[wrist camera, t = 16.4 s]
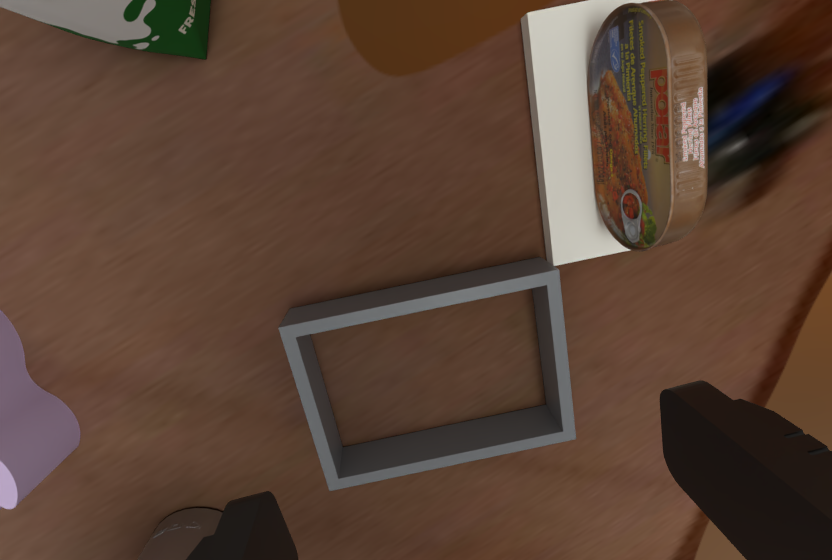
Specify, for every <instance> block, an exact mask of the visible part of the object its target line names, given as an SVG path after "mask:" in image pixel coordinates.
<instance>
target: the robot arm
mask: <svg viewBox="0 0 832 560" xmlns="http://www.w3.org/2000/svg"><path fill="white" fill-rule="evenodd" d="M660 412H661V427H662V442H663V454H664V458H665V461H666V464H667V466H668V468H669V471H670V472H671V474H672V476H673V478H674V479H675V481H676V482H677V483H678V484H679V486H680V487H681V488H682V489H683V490H684V491H685V492H686V493H687V495H688V496H689V497H690V498H691V499H692V500H693V501H694V502H695V503H696V504H697V506H698V507H699V508H700V509H701V510H702V511H703V512H704V513H705V514H706V515H707V517H708V518H709V519H710V520H711V521H712V522H713V523H714V524H715V525H716V526H717V528H718V529H719V530H720V531H721V532H722V533H723V534H724V535H725V536H726V537H727V539H728V540H729V541H730V542H731V543H732V544H733V545H734V546H735V547H736V548H737V550H738V551H739V552H740V553H741V554H742V555H743V556H744V557H745V558H746V559H747V560H832V451H829V450H828V448H827V446H826V445H824V444H823V443H821V442H820V441H818V440H817V439H815V438H814V437H812V436H811V435H809V434H807V435H805V434H804V433H803V430H802V429H800V428H798V427H797V426H795V425H794V424H792V423H791V422H789V421H788V420H786V419H785V418H783V417H781V416H780V415H779V414H777V413H775V412H774V411H771V410H769V409H766V408H764V407H761V406H758V405H756V404H753V403H750V402H748V401H745V400H742V399H737V400H732V399H731V398H729V397H728V396H726V395H725V394H724V393H722V392H721V391H719V390H718V389H716V388H715V387H714V386H712V385H711V384H709V383H707V382H705V381H696V382H692V383H688V384H684V385H680V386H676V387H673V388H669V389H665V390H663V391H662V392H661V394H660ZM137 560H298V555H297V551H296V547H295V545H294V542H293V540H292V537H291V535H290V533H289V530H288V528H287V525H286V523H285V521H284V518H283V516H282V513H281V511H280V509H279V506H278V504H277V501H276V499H275V497H274V495H273V494H272V493H271V492H269V491H266V492H262V493H259V494H255V495H251V496H247V497H243V498H239V499H235V500H232V501H230V502H229V503H228V504H227V505H226V507H225V509H224V511H223V513H222V512H220V511H217V510H212V509H207V508H192V509H185V510H182V511H179V512H175V513H174V514H172V515H170V516H168V517H166V518H165V519H164V520H163V521H162V522H161V523H160V524H159V525H158V527H157V528H156V529H155V531H154V533H153V534H152V536H151V538H150V539H149V541H148V542H147V544H146V546H145V547H144V549H143V551H142V552H141V554H140V556H139V557H138V559H137Z"/></svg>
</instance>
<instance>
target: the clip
mask: <svg viewBox="0 0 832 560" xmlns="http://www.w3.org/2000/svg"><path fill="white" fill-rule="evenodd" d="M79 442H80V428H79V424H78V421H77V419H76V417H75V415H74V414H73V412H72V411H71V410H70V408H69V407H68V406H67V405H66V404H65V403H64V402H62V401H61V400H60V399H59V398H57V397H56V396H54V395H52V394H50V393H49V392H47V391H45V390H43V389H42V388H40V387H39V386H38V385H36V384H35V383H34V381H33V380H32V379H31V378H30V376H29V374H28V372H27V370H26V366H25V356H24V350H23V346H22V343H21V340H20V338H19V336H18V333H17V332H16V330H15V328H14V326H13V325H12V323H11V322H10V320H9V319H8V318H7V317H6V315H5V314H4V313H3V312H2V311H1V310H0V509H1V508H2V507H3V508H6V509H13V508H14V507H16V506H17V505H18V504H19V503H20V502H21V501H22V500H23V499H24V498H25V497H26V496H27V495H28V494H29V493H30V492H31V491H32V490H33V489H34V488H35V487H36V486H37V485H38V484H39V483H40V482H41V481H42V480H44V479H45V478H46V477H47V476H48V475H49V474H50V473H51V472H52V471H53V470H54V469H55V468H56V467H57V466H58V465H59V464H60V463H61V462H62V461H63V460H64V459H65V458H66V457H67V456H68V455H69V454H71V453H72V452H73V451H74V450H75V449H76V448H77V447H78V445H79Z"/></svg>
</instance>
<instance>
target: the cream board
mask: <svg viewBox="0 0 832 560" xmlns="http://www.w3.org/2000/svg"><path fill="white" fill-rule="evenodd" d="M649 1H655V0H588V1H583V2H578V3H573V4H568V5H563V6H558V7H553V8H548V9H543V10H538V11H534V12H528V13H527V14H526V15H524V16H523V17H522V18H521V27H522V36H523V45H524V55H525V64H526V73H527V82H528V91H529V101H530V110H531V119H532V128H533V137H534V147H535V156H536V165H537V174H538V183H539V193H540V202H541V211H542V220H543V229H544V239H545V248H546V257H547V262H549V263H550V264H552V265H553V266H556V265H561V264H566V263H571V262H575V261H580V260H585V259H590V258H595V257H600V256H604V255H609V254H614V253H619V252H624V251H629V249H627V248H625V247H624V246H622V245H621V244H620V243H619V242H618V241H617V240H616V239H615V238H614V237H613V236H612V235H611V233H610V232H609V231H608V229H607V227H606V226H605V224H604V221H603V219H602V217H601V214H600V212H599V208H598V205H597V201H596V195H595V185H594V172H593V159H592V144H591V130H590V117H589V104H588V90H587V75H588V65H589V58H590V53H591V50H592V46H593V43H594V40H595V38H596V35H597V33H598V31H599V29H600V27H601V25H602V24H603V22H604V21H605V19H606V18H607V17H608V15H609V14H610V13H611V12H612V11H613V10H615V9H616V8H617V7H619V6H621V5H623V4H626V3H643V2H649Z"/></svg>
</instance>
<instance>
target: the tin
mask: <svg viewBox="0 0 832 560" xmlns="http://www.w3.org/2000/svg"><path fill="white" fill-rule="evenodd" d="M587 90H588V104H589V117H590V130H591V144H592V159H593V172H594V185H595V195H596V201H597V205H598V208H599V212H600V214H601V217H602V219H603V221H604V224H605V226H606V227H607V229H608V231H609V232H610V233H611V235H612V236H613V237H614V238H615V239H616V240H617V241H618V242H619V243H620V244H621V245H622V246H624V247H625V248H627V249H629V250H633V251H645V250H648V249H651V248H652V247H656V246H661V245H665V244H669V243H672V242H675V241H677V240H680V239H682V238H683V237H685V236H686V235H688V234H689V233H690V232H691V231H692V230H693V229H694V227H695V226H696V224H697V223H698V221H699V219H700V217H701V215H702V213H703V210H704V206H705V202H706V197H707V163H708V161H707V158H708V157H707V51H706V44H705V39H704V36H703V32H702V30H701V27H700V25H699V23H698V21H697V19H696V18H695V16H694V15H693V13H692V12H691V11H690V10H689V9H688V8H687V7H686V6H684V5H683V4H681V3H679V2H677V1H673V0H655V1H649V2H643V3H626V4H623V5H621V6H619V7H617V8H616V9H615V10H613V11H612V12H611V13H610V14H609V15H608V17H607V18H606V19H605V21H604V22H603V24H602V25H601V27H600V29H599V31H598V33H597V35H596V38H595V40H594V43H593V46H592V50H591V53H590V58H589V65H588V75H587Z"/></svg>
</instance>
